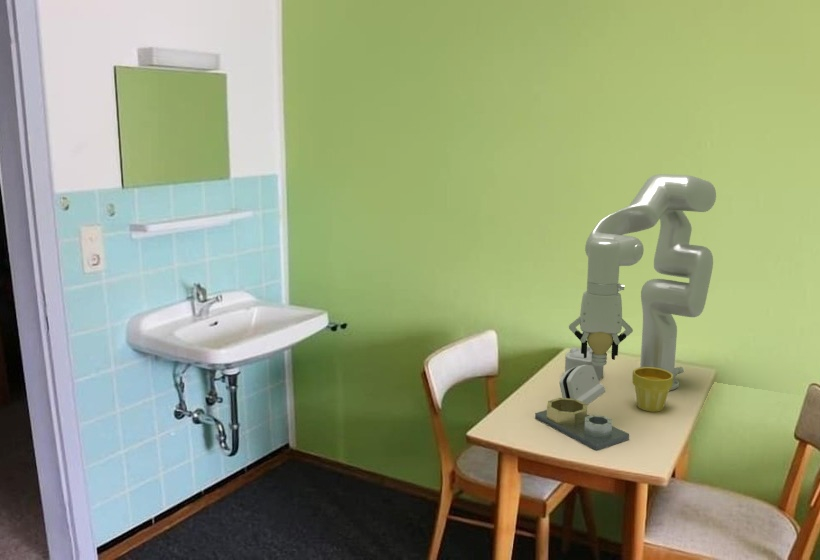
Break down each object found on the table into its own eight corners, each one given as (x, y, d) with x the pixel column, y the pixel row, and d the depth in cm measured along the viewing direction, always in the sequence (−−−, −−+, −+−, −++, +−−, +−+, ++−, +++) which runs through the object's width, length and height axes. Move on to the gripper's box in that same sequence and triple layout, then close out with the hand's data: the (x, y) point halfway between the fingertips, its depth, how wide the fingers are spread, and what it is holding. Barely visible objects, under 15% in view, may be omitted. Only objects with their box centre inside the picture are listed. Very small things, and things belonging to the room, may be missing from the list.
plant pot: (674, 404, 192) (677, 370, 190) (666, 417, 183) (668, 382, 181) (636, 397, 197) (638, 364, 195) (626, 409, 189) (628, 375, 187)
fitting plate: (566, 409, 190) (566, 393, 189) (628, 439, 171) (629, 422, 170) (535, 418, 184) (535, 402, 183) (596, 450, 166) (596, 433, 165)
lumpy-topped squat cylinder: (560, 379, 212) (561, 351, 211) (577, 366, 223) (578, 340, 221) (593, 385, 207) (595, 357, 205) (609, 372, 217) (610, 346, 215)
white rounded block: (580, 410, 189) (570, 374, 189) (565, 411, 192) (555, 376, 192) (606, 391, 202) (596, 358, 202) (591, 393, 205) (581, 360, 205)
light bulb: (598, 370, 174) (600, 332, 172) (580, 363, 179) (582, 326, 177) (617, 366, 177) (619, 328, 175) (598, 359, 182) (600, 322, 180)
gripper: (637, 286, 175) (633, 354, 179) (567, 283, 179) (564, 350, 183) (640, 293, 168) (635, 364, 172) (566, 290, 172) (564, 359, 176)
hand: (599, 356), depth 177 cm, fingers closed on light bulb, 6 cm apart
